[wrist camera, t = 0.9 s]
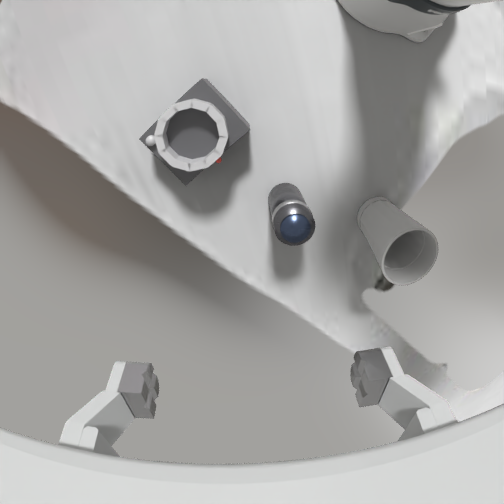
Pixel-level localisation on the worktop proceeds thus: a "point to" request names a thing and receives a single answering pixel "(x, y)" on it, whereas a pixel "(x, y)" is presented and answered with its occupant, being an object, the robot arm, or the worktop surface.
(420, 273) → the cup
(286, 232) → the lens
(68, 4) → the worktop surface
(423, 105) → the worktop surface
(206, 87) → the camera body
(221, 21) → the worktop surface
